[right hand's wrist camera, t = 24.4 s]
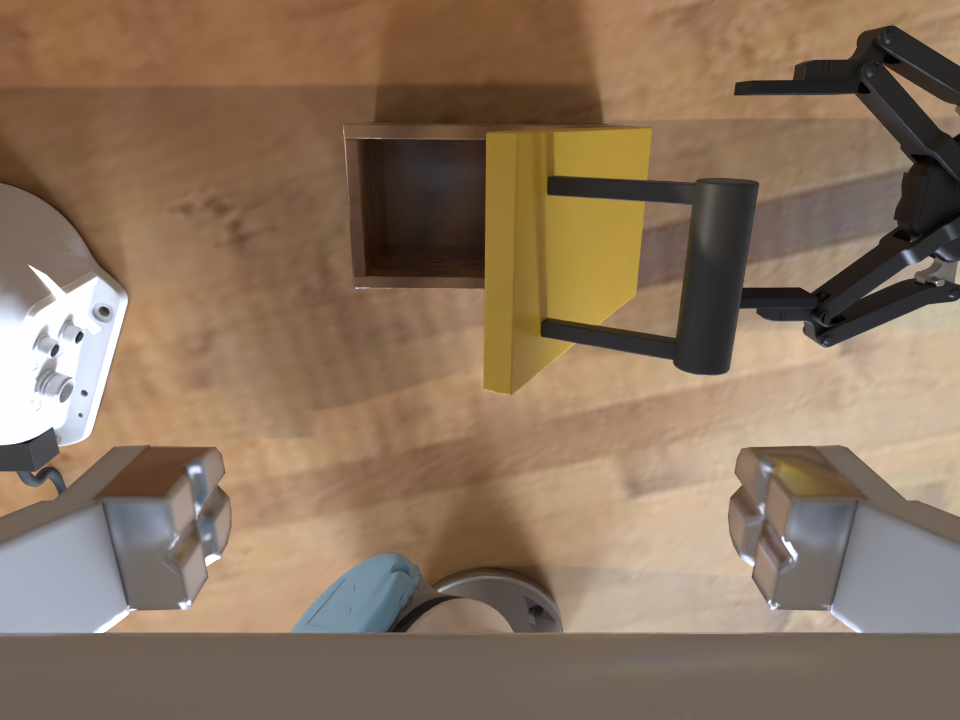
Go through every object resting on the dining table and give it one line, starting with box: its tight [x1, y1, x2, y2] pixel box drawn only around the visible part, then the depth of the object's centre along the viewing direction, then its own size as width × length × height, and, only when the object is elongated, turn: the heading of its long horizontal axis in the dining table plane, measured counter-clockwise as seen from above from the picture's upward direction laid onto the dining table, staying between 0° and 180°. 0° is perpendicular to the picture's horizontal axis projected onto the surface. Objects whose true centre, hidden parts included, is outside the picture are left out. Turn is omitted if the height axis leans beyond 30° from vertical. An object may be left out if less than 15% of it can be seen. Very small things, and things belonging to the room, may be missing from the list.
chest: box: [343, 122, 638, 289], centre depth 44 cm, size 17×10×11 cm, turn 90°
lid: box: [484, 126, 759, 395], centre depth 29 cm, size 18×10×9 cm
